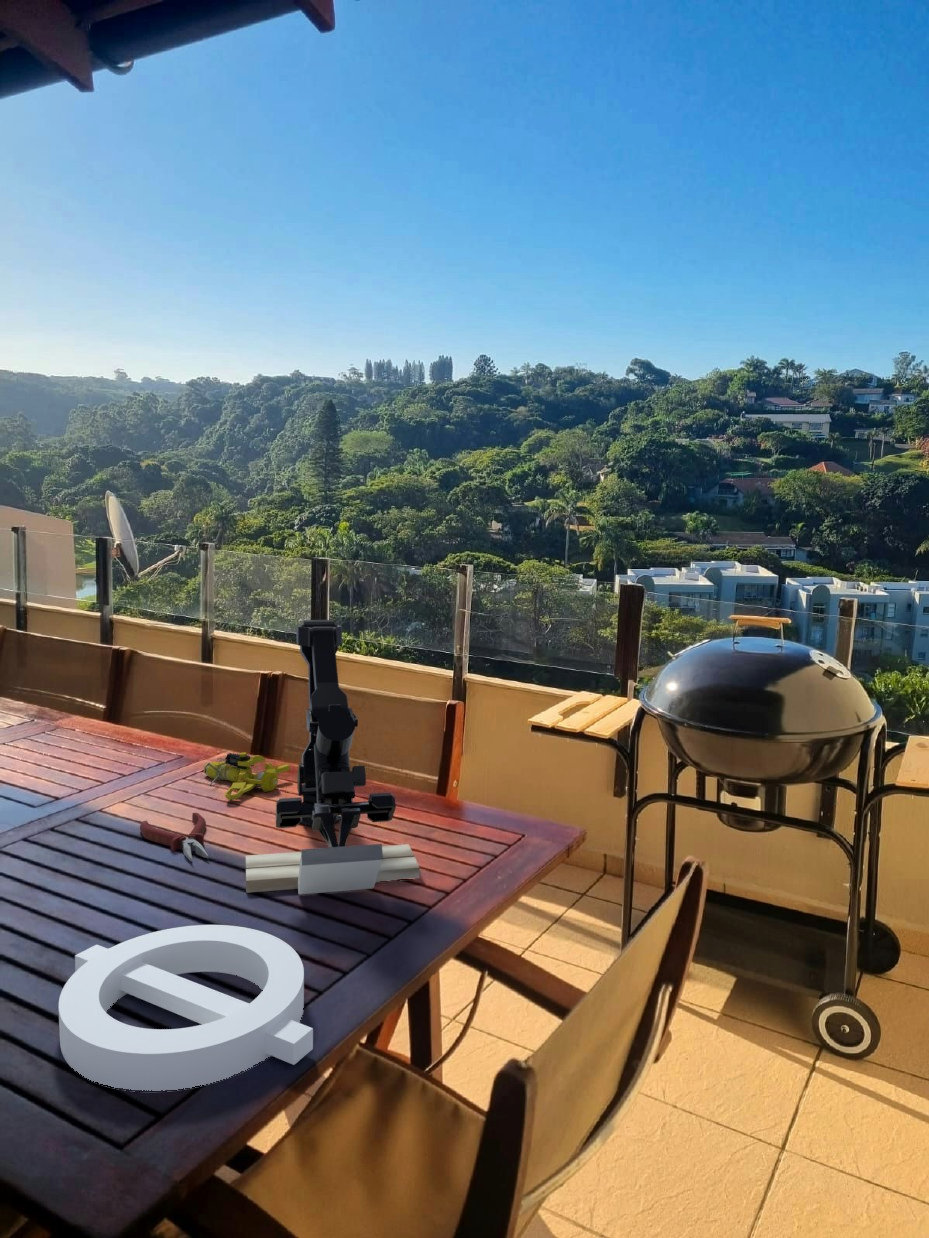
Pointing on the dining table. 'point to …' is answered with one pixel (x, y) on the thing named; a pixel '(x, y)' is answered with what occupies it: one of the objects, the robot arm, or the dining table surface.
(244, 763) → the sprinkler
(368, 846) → the white square slab
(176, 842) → the pliers
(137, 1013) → the dining table surface
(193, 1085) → the ring with crossbar
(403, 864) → the laid plank
